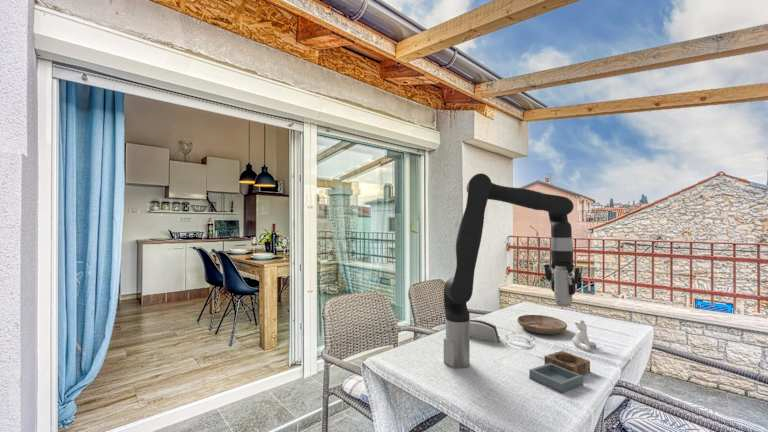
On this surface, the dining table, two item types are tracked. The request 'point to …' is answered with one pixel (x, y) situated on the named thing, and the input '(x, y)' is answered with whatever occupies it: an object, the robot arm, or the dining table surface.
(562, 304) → the energy drink can
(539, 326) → the ceramic bowl
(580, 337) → the sitting furry creature
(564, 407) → the dining table surface
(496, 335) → the grey rounded slab
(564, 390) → the tray
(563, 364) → the bore block
